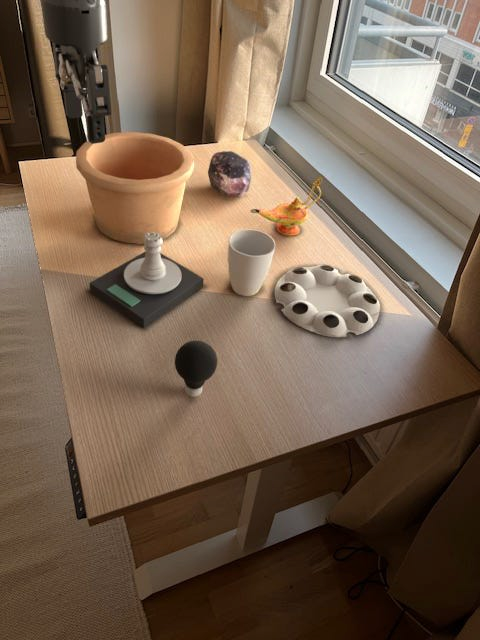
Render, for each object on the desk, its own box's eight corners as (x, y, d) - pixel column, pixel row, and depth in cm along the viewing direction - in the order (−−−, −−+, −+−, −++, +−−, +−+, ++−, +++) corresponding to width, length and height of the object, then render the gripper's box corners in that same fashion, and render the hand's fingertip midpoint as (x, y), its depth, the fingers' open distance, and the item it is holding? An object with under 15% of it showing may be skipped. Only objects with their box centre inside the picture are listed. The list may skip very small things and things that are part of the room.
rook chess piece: (156, 263, 93) (156, 225, 88) (170, 276, 91) (171, 238, 86) (135, 271, 91) (133, 233, 85) (149, 285, 89) (148, 246, 83)
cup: (274, 297, 94) (283, 252, 88) (232, 304, 92) (239, 259, 85) (256, 270, 100) (264, 226, 93) (217, 277, 97) (221, 232, 90)
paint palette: (252, 288, 95) (254, 280, 94) (324, 256, 106) (326, 248, 104) (330, 353, 85) (332, 345, 84) (400, 310, 96) (404, 302, 94)
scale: (143, 328, 85) (143, 315, 83) (90, 291, 90) (88, 279, 88) (203, 287, 94) (204, 274, 92) (151, 256, 99) (151, 244, 97)
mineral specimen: (252, 174, 124) (257, 145, 115) (245, 210, 120) (249, 182, 111) (212, 167, 124) (213, 137, 115) (203, 202, 120) (204, 173, 111)
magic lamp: (238, 231, 109) (244, 183, 102) (304, 214, 117) (315, 169, 110) (255, 248, 105) (263, 200, 98) (323, 229, 113) (335, 184, 106)
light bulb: (168, 383, 77) (170, 335, 70) (206, 375, 79) (211, 328, 72) (179, 414, 73) (182, 367, 66) (218, 405, 75) (225, 358, 68)
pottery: (62, 212, 107) (53, 145, 97) (151, 185, 119) (151, 123, 109) (119, 265, 96) (116, 196, 86) (211, 230, 108) (217, 166, 98)
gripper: (23, -19, 64) (42, 112, 75) (61, 13, 56) (77, 155, 67) (82, -18, 68) (92, 107, 78) (127, 12, 59) (131, 147, 70)
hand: (85, 129), depth 73 cm, fingers open, 8 cm apart
